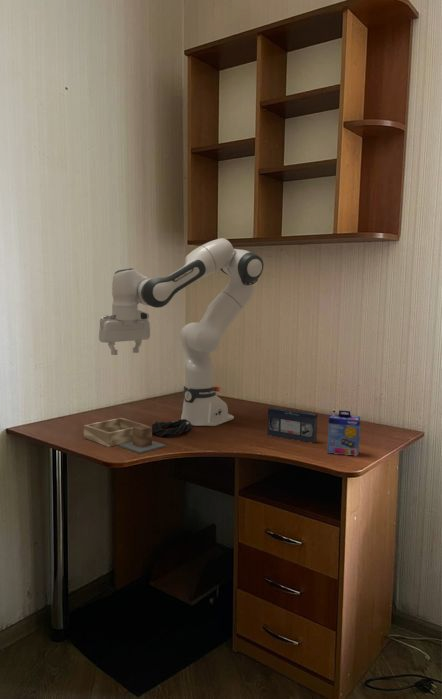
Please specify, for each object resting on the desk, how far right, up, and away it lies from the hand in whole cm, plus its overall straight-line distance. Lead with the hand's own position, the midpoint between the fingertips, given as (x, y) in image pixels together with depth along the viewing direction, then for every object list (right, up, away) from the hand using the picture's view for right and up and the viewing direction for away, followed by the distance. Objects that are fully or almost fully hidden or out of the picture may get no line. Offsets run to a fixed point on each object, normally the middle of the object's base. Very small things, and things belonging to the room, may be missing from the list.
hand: (125, 353), depth 194 cm
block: (+8, -30, -13) cm, 34 cm away
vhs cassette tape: (+59, -31, 0) cm, 67 cm away
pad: (+8, -31, -13) cm, 34 cm away
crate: (-3, -30, -2) cm, 30 cm away
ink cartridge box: (+74, -33, -17) cm, 82 cm away
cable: (+15, -29, +7) cm, 34 cm away
